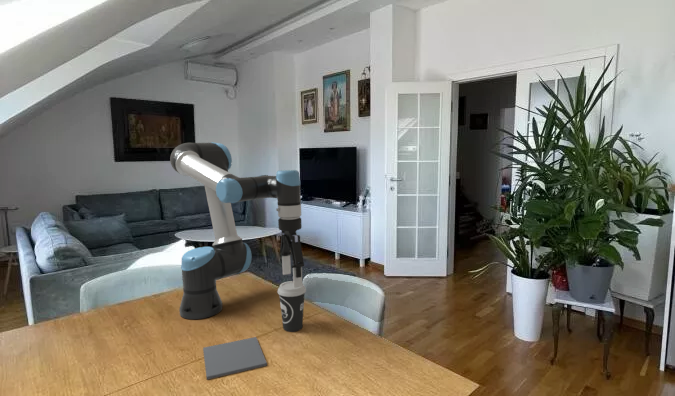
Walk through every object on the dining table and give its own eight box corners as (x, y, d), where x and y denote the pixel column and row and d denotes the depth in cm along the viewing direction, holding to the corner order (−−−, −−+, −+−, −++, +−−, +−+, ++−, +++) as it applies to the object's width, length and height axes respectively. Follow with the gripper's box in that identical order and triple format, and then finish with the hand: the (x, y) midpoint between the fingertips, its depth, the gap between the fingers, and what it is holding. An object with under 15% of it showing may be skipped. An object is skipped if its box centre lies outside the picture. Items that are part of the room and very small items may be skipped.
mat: (203, 350, 114) (203, 347, 114) (256, 339, 120) (256, 336, 120) (206, 379, 99) (206, 376, 99) (266, 365, 105) (266, 362, 105)
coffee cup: (302, 335, 122) (301, 291, 120) (274, 332, 124) (272, 289, 122) (310, 322, 131) (309, 281, 129) (284, 319, 133) (282, 279, 131)
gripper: (269, 212, 132) (272, 270, 135) (288, 225, 109) (291, 294, 112) (290, 211, 135) (292, 268, 138) (313, 222, 112) (315, 290, 115)
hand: (292, 280), depth 125 cm, fingers open, 13 cm apart
